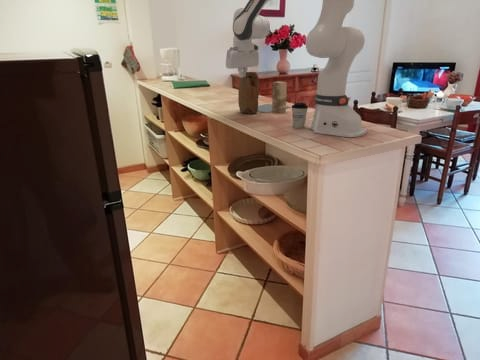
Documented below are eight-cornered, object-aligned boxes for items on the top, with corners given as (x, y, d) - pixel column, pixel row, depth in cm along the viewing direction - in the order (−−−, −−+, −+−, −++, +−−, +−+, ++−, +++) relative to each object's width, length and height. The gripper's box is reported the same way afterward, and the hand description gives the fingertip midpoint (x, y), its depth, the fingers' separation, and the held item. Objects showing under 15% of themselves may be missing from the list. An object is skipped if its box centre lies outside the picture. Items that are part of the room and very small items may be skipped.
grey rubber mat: (289, 107, 189) (289, 107, 189) (266, 113, 175) (266, 112, 175) (267, 104, 199) (267, 103, 199) (243, 109, 185) (243, 108, 185)
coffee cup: (295, 124, 151) (296, 101, 148) (309, 126, 147) (311, 103, 143) (287, 127, 146) (288, 103, 143) (301, 130, 142) (303, 105, 138)
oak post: (285, 112, 178) (286, 82, 172) (279, 113, 174) (280, 83, 168) (277, 110, 181) (278, 81, 175) (271, 112, 177) (272, 82, 172)
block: (237, 111, 179) (237, 71, 172) (249, 110, 183) (250, 71, 176) (248, 114, 171) (248, 72, 164) (260, 113, 174) (262, 72, 167)
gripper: (232, 47, 153) (232, 79, 158) (261, 46, 167) (260, 76, 172) (222, 47, 157) (223, 78, 162) (251, 46, 171) (251, 75, 176)
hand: (242, 77), depth 167 cm, fingers closed
